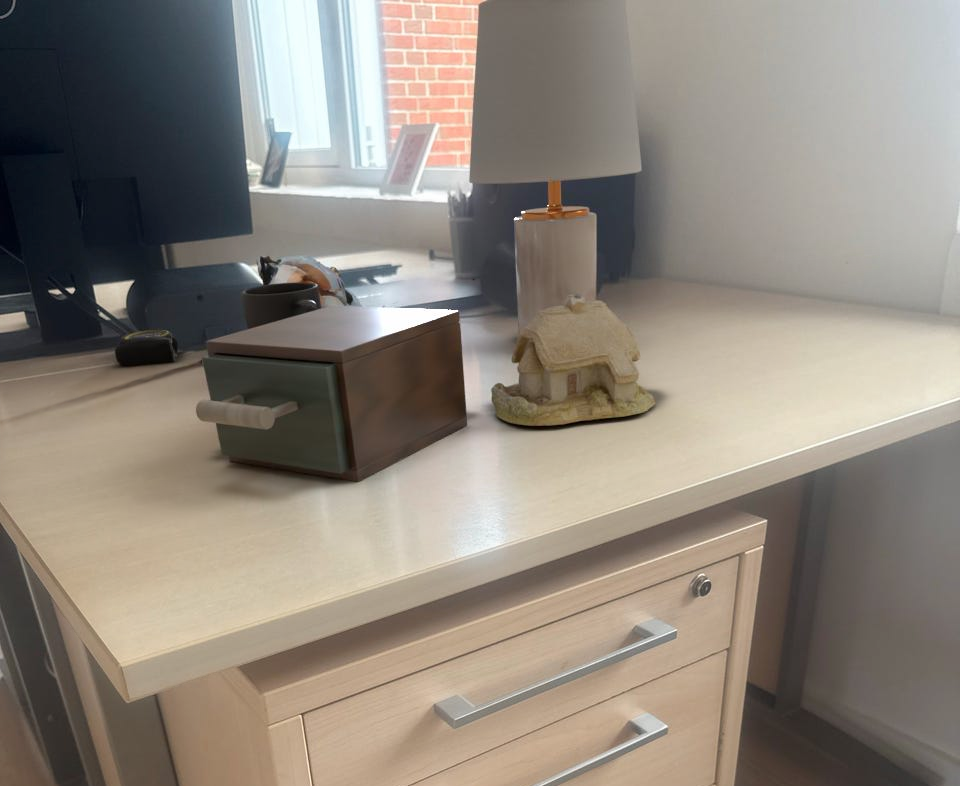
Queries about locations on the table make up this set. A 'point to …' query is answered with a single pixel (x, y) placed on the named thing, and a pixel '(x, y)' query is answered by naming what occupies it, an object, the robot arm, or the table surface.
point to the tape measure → (146, 348)
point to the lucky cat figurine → (307, 278)
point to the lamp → (553, 129)
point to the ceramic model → (573, 368)
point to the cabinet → (373, 376)
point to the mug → (279, 302)
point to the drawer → (276, 411)
